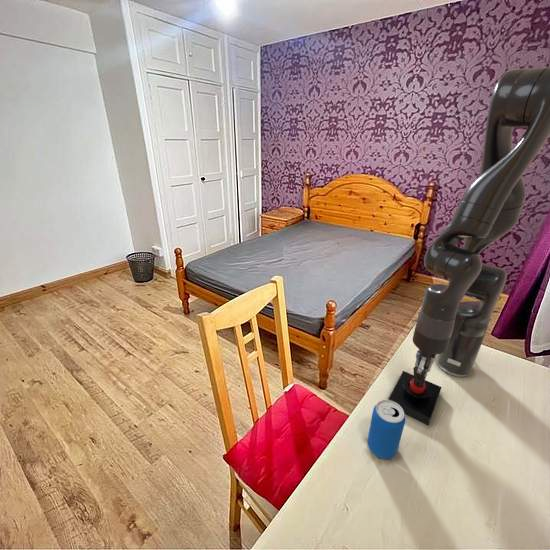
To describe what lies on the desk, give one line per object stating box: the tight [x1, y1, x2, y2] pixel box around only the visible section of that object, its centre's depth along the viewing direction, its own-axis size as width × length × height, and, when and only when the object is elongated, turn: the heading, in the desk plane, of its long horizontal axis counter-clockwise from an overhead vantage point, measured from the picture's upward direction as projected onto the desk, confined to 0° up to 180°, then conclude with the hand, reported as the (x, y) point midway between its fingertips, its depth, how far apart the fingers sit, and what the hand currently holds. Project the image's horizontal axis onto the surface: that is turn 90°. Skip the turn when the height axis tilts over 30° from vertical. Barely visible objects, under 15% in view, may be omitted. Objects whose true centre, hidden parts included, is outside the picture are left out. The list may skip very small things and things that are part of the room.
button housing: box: [388, 370, 442, 427], centre depth 80 cm, size 10×12×4 cm
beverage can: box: [366, 399, 406, 460], centre depth 66 cm, size 6×6×12 cm
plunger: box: [409, 378, 426, 394], centre depth 79 cm, size 4×4×2 cm
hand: (418, 383), depth 78 cm, fingers closed
